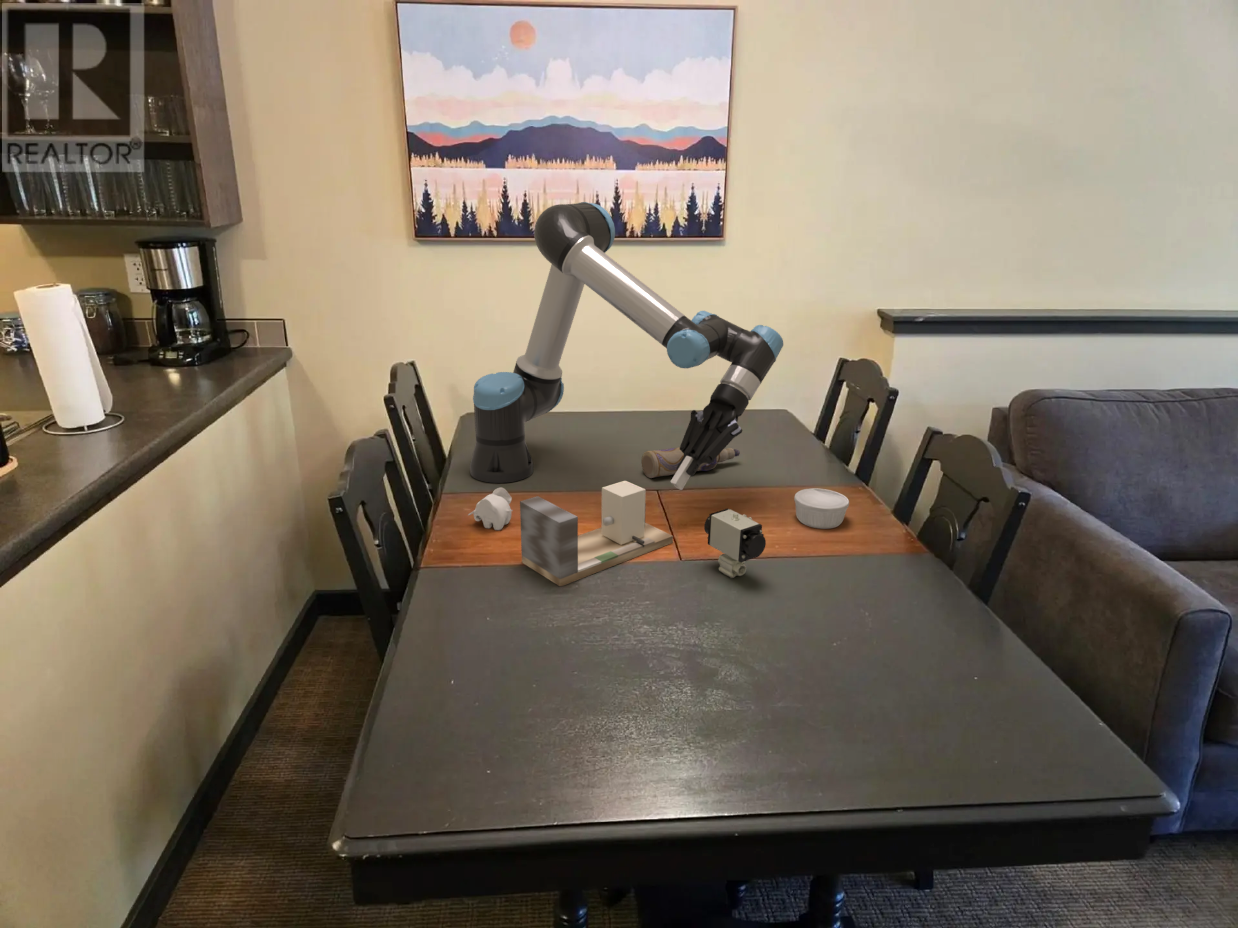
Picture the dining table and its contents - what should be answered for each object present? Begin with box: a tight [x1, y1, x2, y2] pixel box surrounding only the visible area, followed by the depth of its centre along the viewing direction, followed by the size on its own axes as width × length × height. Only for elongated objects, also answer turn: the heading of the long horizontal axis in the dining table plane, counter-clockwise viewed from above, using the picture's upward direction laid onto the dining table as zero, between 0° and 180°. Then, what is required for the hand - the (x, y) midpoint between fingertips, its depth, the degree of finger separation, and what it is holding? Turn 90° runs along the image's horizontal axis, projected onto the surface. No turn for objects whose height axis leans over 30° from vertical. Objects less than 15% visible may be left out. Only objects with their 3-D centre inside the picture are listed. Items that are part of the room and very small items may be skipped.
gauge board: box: [519, 495, 674, 588], centre depth 154 cm, size 12×28×12 cm, turn 131°
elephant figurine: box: [467, 486, 513, 531], centre depth 167 cm, size 8×10×7 cm
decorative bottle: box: [641, 446, 740, 479], centre depth 198 cm, size 26×8×7 cm, turn 113°
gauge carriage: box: [601, 480, 647, 545], centre depth 157 cm, size 9×8×10 cm
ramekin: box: [794, 487, 850, 530], centre depth 172 cm, size 11×11×5 cm
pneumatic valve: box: [703, 508, 767, 579], centre depth 148 cm, size 6×12×12 cm, turn 35°
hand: (676, 486), depth 164 cm, fingers closed
